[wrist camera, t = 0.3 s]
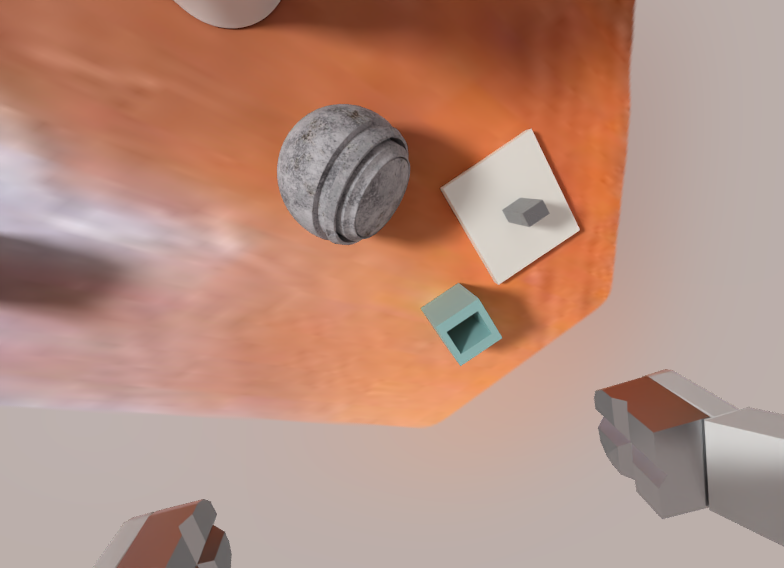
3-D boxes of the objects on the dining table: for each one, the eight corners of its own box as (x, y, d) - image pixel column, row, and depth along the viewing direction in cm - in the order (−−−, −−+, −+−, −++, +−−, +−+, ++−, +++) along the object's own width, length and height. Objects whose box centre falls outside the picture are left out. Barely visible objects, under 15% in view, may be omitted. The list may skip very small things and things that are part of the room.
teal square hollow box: (420, 308, 58) (434, 327, 51) (458, 282, 58) (478, 298, 51) (443, 342, 60) (460, 366, 53) (480, 317, 60) (502, 337, 53)
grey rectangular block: (501, 210, 55) (522, 213, 49) (520, 197, 55) (542, 199, 49) (508, 222, 56) (529, 227, 50) (526, 210, 56) (549, 213, 50)
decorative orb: (361, 253, 55) (373, 278, 41) (263, 196, 51) (239, 203, 37) (418, 156, 53) (452, 148, 39) (320, 90, 49) (319, 54, 35)
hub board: (439, 188, 55) (442, 188, 53) (525, 130, 54) (531, 128, 53) (494, 282, 59) (498, 284, 58) (573, 228, 59) (580, 229, 58)
